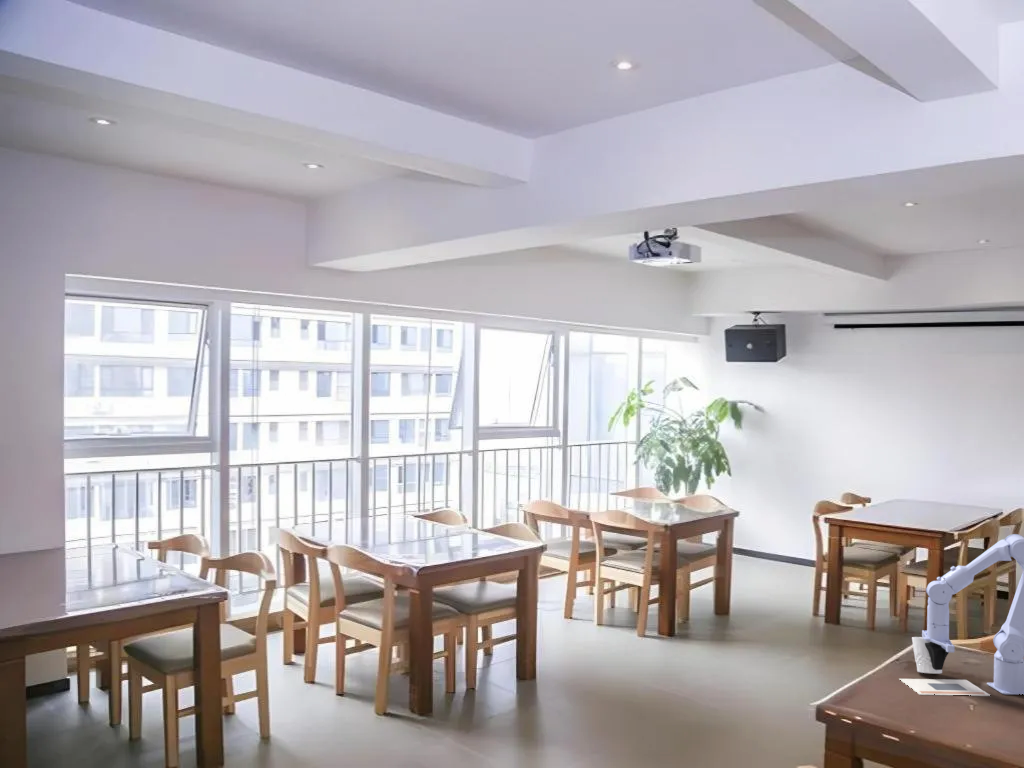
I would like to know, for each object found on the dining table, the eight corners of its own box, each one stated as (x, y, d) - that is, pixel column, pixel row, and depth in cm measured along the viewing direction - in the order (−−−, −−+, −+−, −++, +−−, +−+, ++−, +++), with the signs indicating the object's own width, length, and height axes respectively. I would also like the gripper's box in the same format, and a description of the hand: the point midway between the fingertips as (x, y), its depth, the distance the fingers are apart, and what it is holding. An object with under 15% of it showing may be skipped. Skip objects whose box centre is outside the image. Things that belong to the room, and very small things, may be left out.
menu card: (966, 680, 237) (966, 679, 237) (990, 696, 225) (990, 695, 225) (898, 679, 237) (898, 678, 237) (919, 694, 225) (919, 694, 225)
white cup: (949, 674, 237) (946, 638, 240) (922, 673, 237) (919, 638, 240) (936, 671, 245) (932, 637, 247) (910, 671, 245) (907, 636, 248)
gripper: (912, 615, 244) (911, 660, 244) (937, 630, 230) (936, 677, 230) (935, 616, 244) (934, 660, 244) (962, 630, 230) (961, 678, 230)
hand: (937, 669), depth 237 cm, fingers closed
